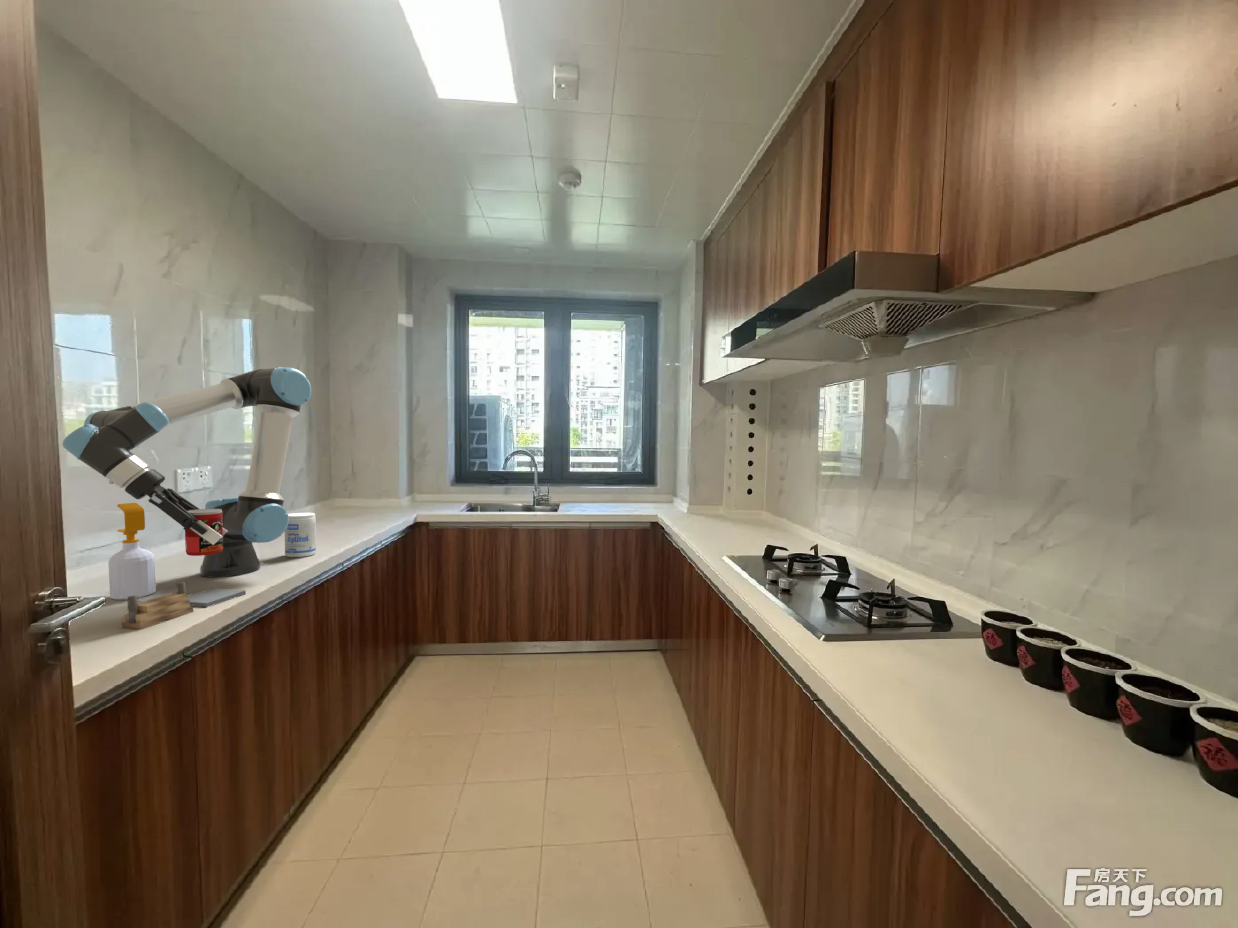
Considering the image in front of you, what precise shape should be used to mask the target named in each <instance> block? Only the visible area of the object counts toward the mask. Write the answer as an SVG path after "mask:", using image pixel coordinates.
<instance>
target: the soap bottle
mask: <svg viewBox="0 0 1238 928" xmlns="http://www.w3.org/2000/svg"><path fill="white" fill-rule="evenodd" d="M116 507H117V508H118V509H120V510H121V511H122V512H123V515H124V518H123V519H124V528H120V529H117V532H119V533H123V535H124V536H126V539H122V549H120V550H119V551H117V552H116V553H114V554H113V555H112V556H111V557H110V558H109V560H108V562H107V563H108V579H109V580H108V581H109V598H110V599H111V600H115V601H116V600H117V601H125V600H127V601H128V597H129V596H137V597H138V599H140V598H144V597H147V596H150V595H152V594H154V593H156V591H157V586H156V566H155V565H156V564H155V562H156V561H155V555H154V554H153V553H152V552H151V551H149V550H147V549H144V548H142V547H141V546H140V539H139V538H136V535H137V534H138V531H144V530H145V529H146V521H145V520H146V519H145V518H146V517H145V516H146V515H145V510H144V508H143V506H141V505H140V504H138V503H137V502H129V503H128V502H127V503H117V505H116Z"/></svg>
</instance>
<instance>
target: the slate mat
mask: <svg viewBox="0 0 1238 928" xmlns="http://www.w3.org/2000/svg"><path fill="white" fill-rule="evenodd" d="M246 591H247V590H246V589H245V590H244V589H228V588H216V587H215V588H214V587H213V588H212V587H211V588H207V589H204V590H201V591H198V592H197V591H196V592H194V593H190V594H187V600H190V607H199V606H204V607H203V608H208V606H209V607H211V605H212V606H214V605H213V604H215V605H218V604H220V603H224V602H227V601H229V599H230V600H232V599H231V598H233V599H235V598H234V597H236V598H238V596H239V597H242V596H245V595H246V594H247V593H246ZM241 595H242V596H241ZM226 600H227V601H226ZM223 601H224V602H223Z"/></svg>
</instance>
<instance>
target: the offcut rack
mask: <svg viewBox="0 0 1238 928" xmlns="http://www.w3.org/2000/svg"><path fill="white" fill-rule="evenodd" d="M187 595H188V594H187V591H186V582H183V581H182V582H178V583H176V592H172V593H168V594H166V595H163V596H162V595H161V596H159V597H156V598H153V599H150V600H146V601H143V602H140V603H139V602H138V599H139V598H138V597H137V596H129V597H128V599H127V608H128V609H127V613H125V614H124V619H125V620H124V621H122V622H121V628H122V629H132V630H143V629H146V628H148V627H152V626H154V625H157V624H161V623H163V621H164V622H166V620H167V621H170V620H172V619H173V620H174V619H176V618H179V617H181V616H184V614H185V615H188V614H190V613H189V612H191V613H193V612H194V606H190V600H187ZM187 613H188V614H187ZM169 619H170V620H169ZM160 622H161V623H160Z"/></svg>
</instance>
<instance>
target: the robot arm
mask: <svg viewBox="0 0 1238 928" xmlns="http://www.w3.org/2000/svg"><path fill="white" fill-rule="evenodd" d="M311 396H312V386H311V383H310V381H309V379H308V378H307V376H306V374H305V373H303V372H302V371H301V370H299V369H298V368H297V369H296V368H294V367H285V366H278V367H272V368H270V367H269V368H260V369H254V370H251V371H248V372H245V373H242V374H238V375H235V376H232V377H228V378H224V379H221V381H220V383H218V384H215V385H210V386H205V387H202V388H197V389H193V390H189V391H185V392H180V393H177V394H172V395H167V396H164V397H159V398H155V399H151V400H147V401H143V402H139V403H134V404H131V405H127V406H124V407H123V406H121V407H119V408H115V409H109V410H99V411H96V412H92V413H90V414H89V415H88V416H86V418H85V420H84V422H83V425H82V426H80V427H78V428H76V429H74V430H73V431H72V432H70V433H69V434H68V435H67V436H65V438H64V439H63V440H62V447H63V449H65V450H66V451H67V452H69V453H70V454H72V455H73V456H74V457H75V458H76V460H79V461H80V462H83V463H84V464H85V465H87V466H88V467H90V468H91V469H93V470H94V471H96V472H97V473H99V474H100V475H102V476H103V477H105V478H106V479H107V480H108V484H109V485H114V484H115V486H117V487H119V489H120V488H123V489H124V492H125V493H127V494H128V495H129V496H130V497H132V498H134V499H135V500H141V499H143V498H145V497H149V499H148V503H150V504H152V505H154V506H156V507H157V508H158V509H159V510H161V511H162V512H163V513H165V514H166V515H167V516H168V517H170V518H171V519H172V520H174V521H175V522H176V523H178V524H179V525H181V527H183V530H184V531H185V530H188V529H189V528H190V527H191V528H190V529H191V530H193V531H194V532H195V533H197V534H198V535H200V536H201V537H203V538H204V539H205V540H207V541H208V542H210V543H211V544H213V545H214V544H215V543H216V542H217V541H218V540H219V539H220V538H222V537H223V550H222V552H220V553H216V554H211V555H203V556H204V557H203V560H202V563H201V565H200V568H199V572H200V573H199V575H200V576H201V577H204V578H222V577H231V576H238V575H243V574H248V573H252V572H255V571H257V570H259V569H260V568H261V562H260V559H259V558H258V555H257V552H256V549H255V548H254V545H253V544H254V543H257V544H260V543H261V544H262V543H270V542H273V541H276V540H277V539H278V538H280V537H281V536H283V534H285V530H286V528H287V526H288V522H289V516H288V514H289V513H288V512H287V510H286V509H285V507H284V501H285V498H283V496H282V495H281V494H280V492H281V487H282V481H283V475H284V470H285V465H286V464H285V463H286V458H287V455H288V454H287V452H288V446H289V443H290V442H289V441H290V437H291V436H290V435H291V430H292V426H293V419H294V418H296V417H297V416H299V415H300V414H301V413H300V412H301V406H302V405H304V404H305V403H307V402H308V401H309V399H310V398H311ZM247 407H255V408H256V409H257V410H258V411H259V413H260V414H259V419H258V424H257V428H256V429H257V431H256V435H255V441H254V445H253V452H252V456H251V462H250V467H249V472H248V477H247V483H246V488H245V490H244V491H243V492H241V493H240V494H238V497H231V498H230V497H228V498H221V499H220V498H219V499H211V500H208V501H206V503H205V505H204V509H221V510H222V520H223V536H222V535H220V534H219V533H217V532H216V531H215V530H213V529H212V528H210V527H209V526H208V525H206V524H205V523H203V522H202V521H201V520H199V521H198V520H197V519H196V518H195V517H193V516H192V515H191V514H190V513H189V512H188V511H189V510H197V509H200V508H199V507H197V506H196V505H194V504H193V503H192V502H191V501H188V500H187V499H186V498H184V497H183V496H182V495H180V494H178V492H176V491H175V490H174V489H172V488H169V487H168V488H166V487H164V486H162V485H161V484H162V483H164V481H165V480H166V477H165V476H164V475H163V474H161V472H158V471H157V470H156V469H154V468H150V464H148V463H147V462H145V461H144V460H143V459H142V458H140V457H138V456H137V455H135V454H134V453H133V452H132V451H131V450H134V449H135V448H136V447H138V446H140V445H141V444H143V443H144V442H146V441H147V440H149V439H150V438H151V437H154V436H155V435H156V434H158V433H160V432H161V431H162V430H163V429H165V427H167V426H169V425H173V424H177V423H180V422H183V421H187V420H191V419H194V418H198V417H202V416H205V415H209V414H212V413H216V412H220V411H223V410H226V409H230V408H231V409H235V410H239V409H243V408H247ZM197 521H198V522H197Z"/></svg>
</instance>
